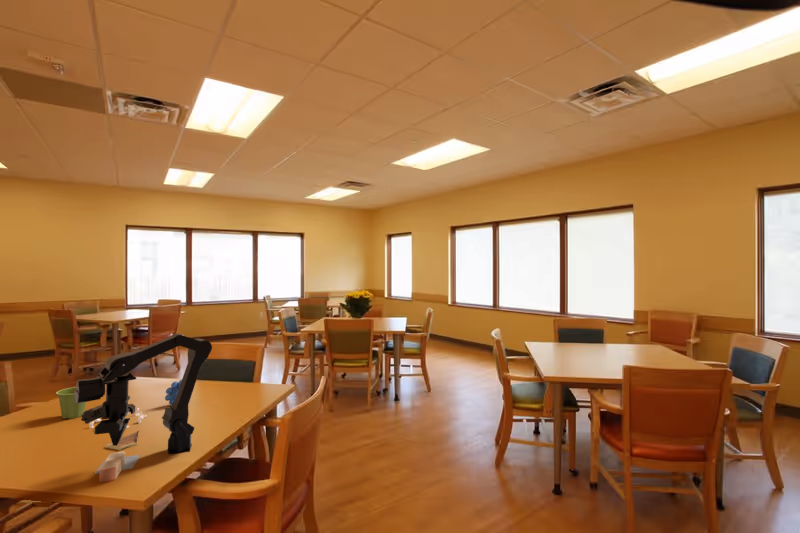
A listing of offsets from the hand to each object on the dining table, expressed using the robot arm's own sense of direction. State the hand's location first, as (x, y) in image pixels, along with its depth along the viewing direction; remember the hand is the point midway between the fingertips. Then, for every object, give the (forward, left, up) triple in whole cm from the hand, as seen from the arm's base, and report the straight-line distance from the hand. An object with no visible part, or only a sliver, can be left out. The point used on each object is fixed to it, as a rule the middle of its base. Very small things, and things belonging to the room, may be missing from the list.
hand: (115, 445), depth 121 cm
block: (0, -3, -5) cm, 6 cm away
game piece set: (+11, -47, -9) cm, 49 cm away
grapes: (-9, -64, -8) cm, 65 cm away
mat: (0, -4, -8) cm, 9 cm away
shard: (+3, -22, -9) cm, 24 cm away
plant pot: (+31, -62, -8) cm, 70 cm away
